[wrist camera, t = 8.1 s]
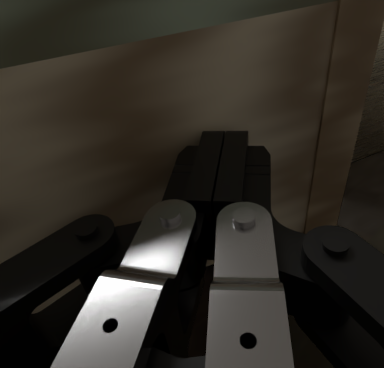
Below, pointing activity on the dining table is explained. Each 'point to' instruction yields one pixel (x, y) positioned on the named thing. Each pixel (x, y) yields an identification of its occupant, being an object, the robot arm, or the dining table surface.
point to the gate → (174, 103)
